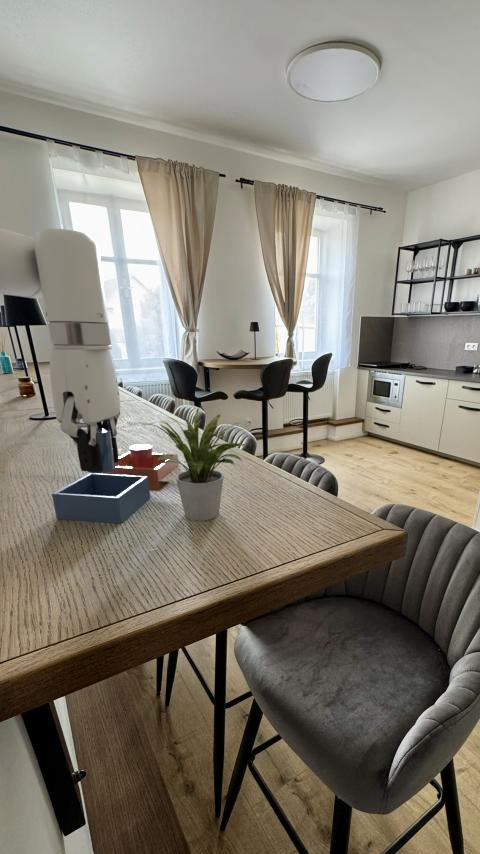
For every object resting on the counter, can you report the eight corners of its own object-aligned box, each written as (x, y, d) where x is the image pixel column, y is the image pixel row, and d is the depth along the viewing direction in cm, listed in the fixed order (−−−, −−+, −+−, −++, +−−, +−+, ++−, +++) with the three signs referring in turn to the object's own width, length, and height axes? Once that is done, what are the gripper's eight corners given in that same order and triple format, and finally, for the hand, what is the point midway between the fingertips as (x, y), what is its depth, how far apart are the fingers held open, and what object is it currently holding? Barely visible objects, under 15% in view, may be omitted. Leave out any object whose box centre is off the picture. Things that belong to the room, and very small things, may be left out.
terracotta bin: (105, 487, 74) (101, 466, 73) (130, 470, 84) (128, 451, 82) (159, 490, 73) (157, 469, 72) (179, 473, 83) (177, 454, 81)
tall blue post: (81, 472, 61) (75, 433, 59) (96, 465, 65) (90, 427, 63) (107, 474, 61) (101, 434, 59) (120, 466, 65) (115, 428, 62)
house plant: (161, 546, 54) (149, 422, 48) (137, 509, 65) (125, 405, 59) (258, 524, 61) (257, 413, 55) (221, 494, 72) (217, 399, 66)
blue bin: (56, 518, 61) (51, 493, 60) (93, 495, 71) (90, 472, 69) (121, 523, 60) (118, 498, 59) (150, 498, 70) (148, 476, 68)
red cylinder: (129, 480, 77) (125, 449, 74) (138, 474, 80) (135, 443, 78) (149, 481, 76) (146, 450, 74) (158, 475, 80) (155, 444, 78)
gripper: (89, 337, 64) (105, 451, 71) (11, 337, 49) (42, 482, 56) (134, 338, 64) (147, 453, 70) (70, 338, 48) (94, 485, 55)
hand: (100, 465), depth 63 cm, fingers closed on tall blue post, 4 cm apart
